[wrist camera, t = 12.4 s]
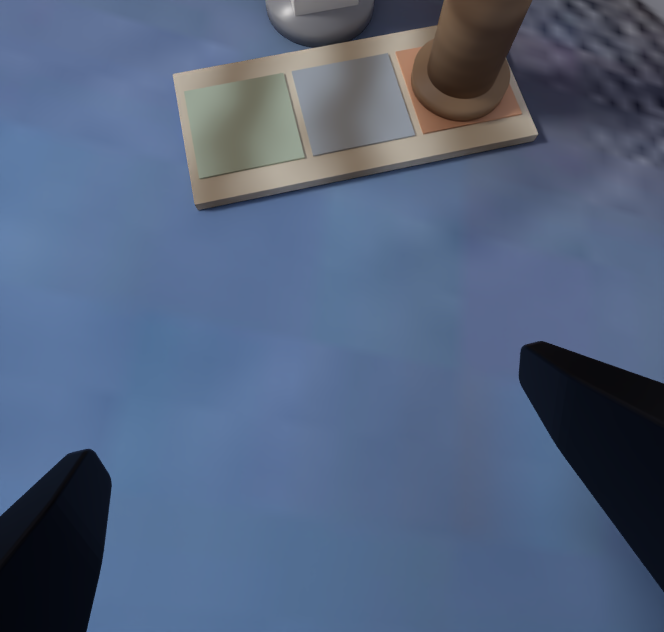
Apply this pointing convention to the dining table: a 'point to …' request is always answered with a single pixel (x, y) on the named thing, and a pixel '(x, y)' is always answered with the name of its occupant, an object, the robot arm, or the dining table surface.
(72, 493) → the robot arm
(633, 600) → the dining table surface
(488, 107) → the pawn
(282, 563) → the dining table surface
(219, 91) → the board
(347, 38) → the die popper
